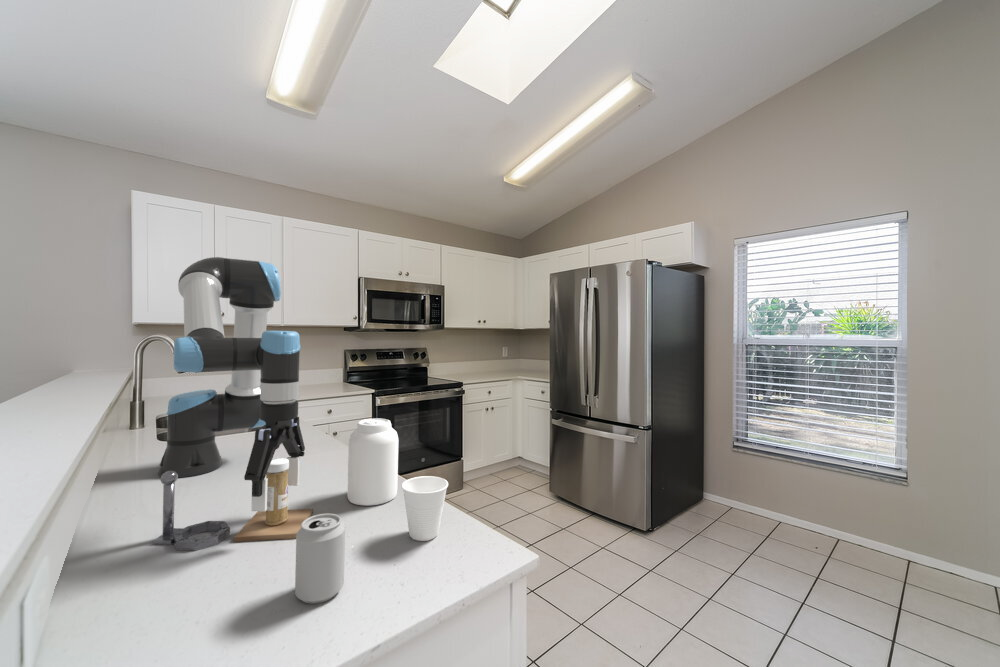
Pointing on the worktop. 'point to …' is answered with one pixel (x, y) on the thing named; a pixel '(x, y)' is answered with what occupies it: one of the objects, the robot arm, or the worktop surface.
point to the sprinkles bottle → (277, 492)
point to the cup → (424, 505)
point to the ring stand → (180, 534)
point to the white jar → (373, 463)
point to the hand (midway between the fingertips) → (277, 497)
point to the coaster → (273, 527)
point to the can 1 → (320, 558)
